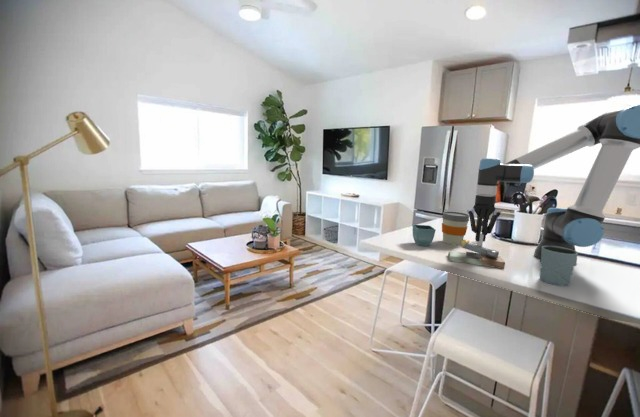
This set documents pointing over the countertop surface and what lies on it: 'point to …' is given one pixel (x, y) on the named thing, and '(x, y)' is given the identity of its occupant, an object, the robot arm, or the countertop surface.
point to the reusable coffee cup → (454, 227)
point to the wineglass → (481, 229)
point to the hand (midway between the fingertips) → (479, 248)
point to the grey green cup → (557, 265)
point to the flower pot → (423, 234)
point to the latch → (479, 249)
